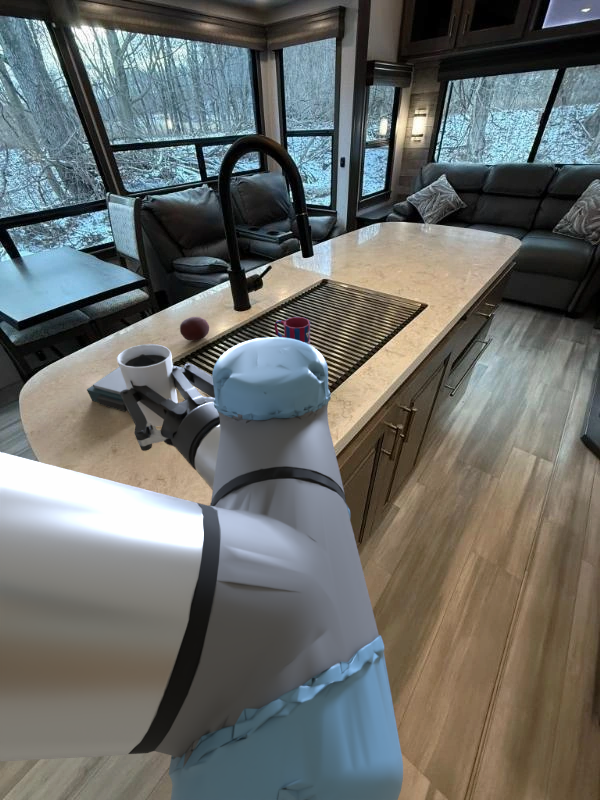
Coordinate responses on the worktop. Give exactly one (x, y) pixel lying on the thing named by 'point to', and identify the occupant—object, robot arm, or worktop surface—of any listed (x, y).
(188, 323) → the plum
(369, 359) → the worktop surface
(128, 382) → the white coffee cup
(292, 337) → the mug
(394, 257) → the worktop surface
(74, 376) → the worktop surface
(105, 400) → the scale
